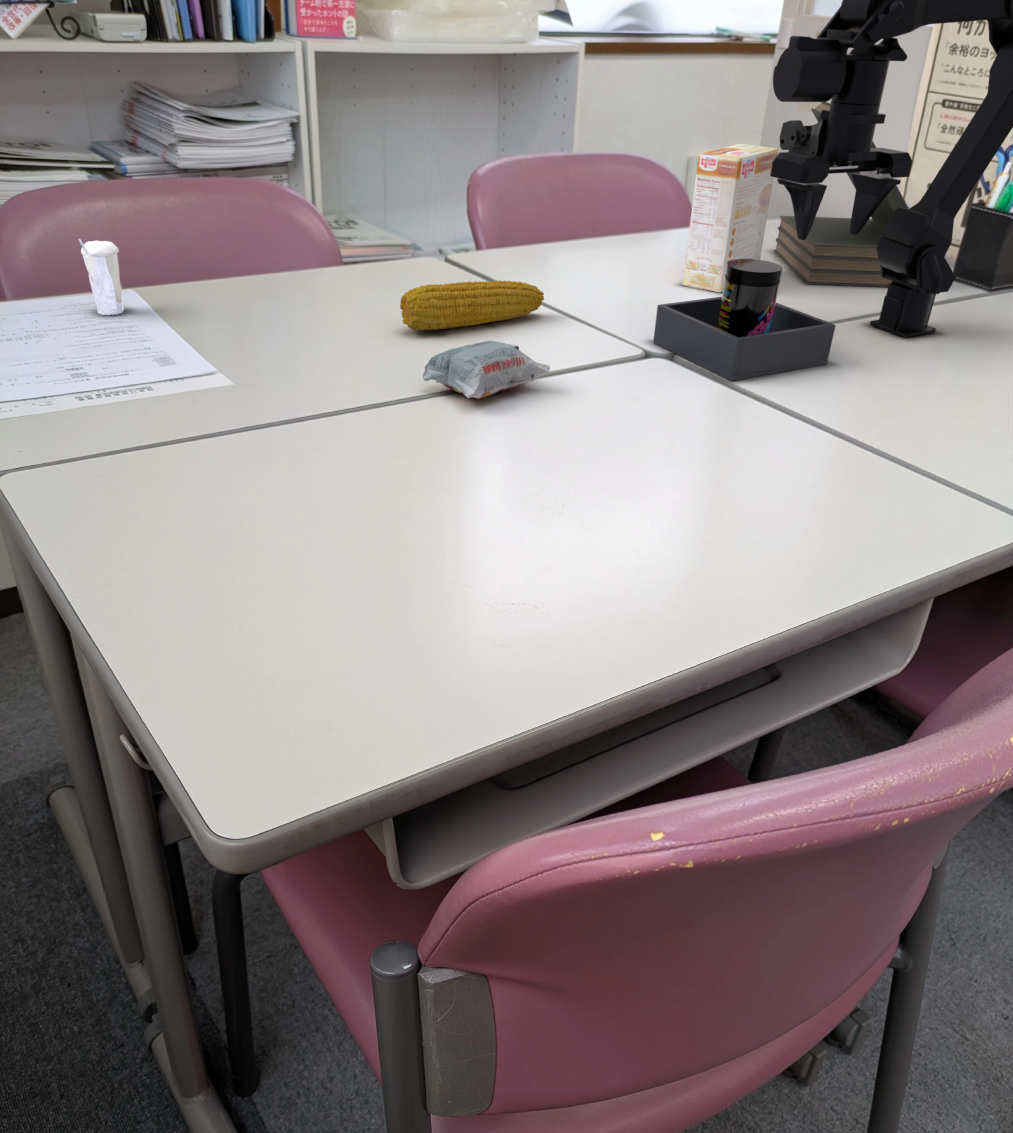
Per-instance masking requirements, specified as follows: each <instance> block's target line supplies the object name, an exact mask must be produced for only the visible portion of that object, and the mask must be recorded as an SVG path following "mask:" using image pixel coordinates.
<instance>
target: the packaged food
mask: <svg viewBox="0 0 1013 1133" xmlns="http://www.w3.org/2000/svg"><path fill="white" fill-rule="evenodd" d="M550 370H551V366H550V365H549V364H546V363H541V362H537V361H535V360H534V359H532V358H531V357H529V356H528V355H527V354H526V353H524V352H522V351H521V350H520V347H519V345H515V344H510V343H505V342H500V341H495V340H485V341H480V342H475V343H472V344H467V345H463V346H462V345H461V346H458V347H455V348H454V347H453V348H450V349H447V350H445V351H443V352H440V353H437V354H435V355H433V356H432V357H431V358H430V359H429V360H428V362H427V364H426V365H425V366H424V372H423V373H422V379H423V381H424V382H429V381H430V380H433V381H435V382H436V383H437V384H439V385H440V384H441V385H442V386H444V387H446V388H448V389H450V390H452V391H454V392H457V393H459V394H462V395H464V396H465V397H466V398H467V399H470V398H474V399H478V400H479V399H482V398H485V397H488V396H491V395H493V394H497V393H502V392H505V391H508V390H511V389H513V388H517V387H519V386H522V385H525V384H528V383H531V382H534V381H535V380H536V379H537V378H539V377H542V376H543V375H546V374H548V373H549V372H550Z"/></svg>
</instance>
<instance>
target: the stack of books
mask: <svg viewBox="0 0 1013 1133" xmlns="http://www.w3.org/2000/svg"><path fill="white" fill-rule="evenodd" d="M830 104H831V102H828V101H827V102H820V104H819V105H817V106H816V107H814V108H813V107H811V108H810V110H811V112H812V113H813V116H814V117H815V119H816V121H817V122H818V119H819V114H820V113H821V112H822V110H829V109H830ZM871 148H877V146H876V143H875V142H874V139H873V140H872V145H871ZM849 165H850V164H849ZM851 165H852V164H851ZM858 173H860V172H850V173H846V174H847V176H848V178H849V181H850V182H851V184H852V185H853V187H854V189H855V190H856V187H855V184H854V181H853V179H852V176H851V174H858ZM898 207H901V208H905V209H910V207H909V205H908V204H907V202H906V200H905V199H904V196H903V195H902V192H901V191H900V189H899V187H898V185H896V186H895V187H894V188H893V189H892V190H891V192H890V193H889V194H888V195H887V196H886V198H885V199H884V200H883V201H882V202H881V204H880V205H879V206H878V208H877V209H876V210H875V212H874V213H873V214H872V216H871V217H870V218H869V220H868V221H867V223H866V224H865V225H864V227H863V228H862V229H861V231H860V232H859V234H858V235H853V234H850V224H851V217H830V216H828V217H825V216H816V217H815V219H814V222H813V225H812V227H811V230H810V232H809V234H808V236H807V238H806V240H800V239H798V237H797V230H796V223H795V217H794V215H779V218H780V222H779V226H777V230H778V235H777V238H775V242H776V246H775V249H774V250H773V252H774V253H775V254H776V255H777V256H778V257H779V258H780V259H781V260H782V261H783V262H784V263H785V264H786V265H787V266H788V267H789V268H790V269H791V270H792V271H793V272H794V273H795V274H796V275H797V276H798V277H799V278H800V279H801V280H802V281H803V282H804V283H805V284H806V285H819V286H821V285H822V286H844V287H845V286H848V287H849V286H850V287H873V288H874V287H876V288H888V286H889V284H890V283H892V281H891V280H888V279H886V278H882V277H881V271H880V263H879V260H878V253H877V251H876V249H877V245H878V243H879V241H880V239H881V237H882V236H880V235H879V233H880V232H881V231H882V230H883V229H884V228H885V227H886V226H887V224H888V223H889V221H890V219H891V217H892V215H893V213H894V211H895V210H896V209H897V208H898Z"/></svg>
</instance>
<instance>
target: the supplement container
mask: <svg viewBox="0 0 1013 1133" xmlns="http://www.w3.org/2000/svg"><path fill="white" fill-rule="evenodd" d="M783 269H784V268H783V266H782V265H780V264H779V263H776V262H773V261H769V260H762V259H760V260H757V259H735V260H730V261H728V262H727V265H726V272H725V280H724V286H723V291H722V292H721V293H722V294H721V297H722V299H721V306H720V312H719V319H718V325H717V328H718V329H720V330H722V331H725V332H727V333H729V334H732V335H734V336H736V337H745V336H752V335H758V334H765V333H770V332H771V327H772V321H773V316H774V311H775V305H776V303H777V299H778V295H779V288H780V283H781V279H782V273H783Z"/></svg>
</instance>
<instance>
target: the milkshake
mask: <svg viewBox="0 0 1013 1133" xmlns="http://www.w3.org/2000/svg"><path fill="white" fill-rule="evenodd" d="M77 240H78V242H79V244H80V246H81V249H80V253H81V258H82V260H83V263H84V267H85V269H86V273H87V277H88V281H89V285H90V288H91V292H92V295H93V299H94V303H95V307H96V311H97V313H98V314H100V315H102V316H114V315H119V314H122V313H124V309H125V308H124V299H123V288H122V279H121V278H122V277H121V266H120V265H121V264H120V250H119V247H118V246H117V245H116V244H115V243H114V242H112V241H109V240H102V241H101V240H97V239H96V240H93V241H91V240H89V241H86V242H85V243H84V242H83V240H82V239H80V238H78V239H77Z"/></svg>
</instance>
